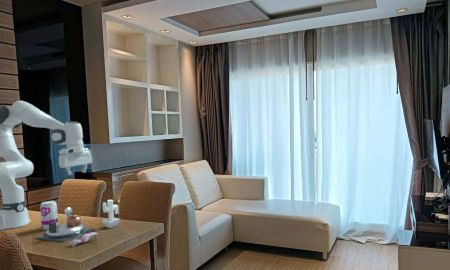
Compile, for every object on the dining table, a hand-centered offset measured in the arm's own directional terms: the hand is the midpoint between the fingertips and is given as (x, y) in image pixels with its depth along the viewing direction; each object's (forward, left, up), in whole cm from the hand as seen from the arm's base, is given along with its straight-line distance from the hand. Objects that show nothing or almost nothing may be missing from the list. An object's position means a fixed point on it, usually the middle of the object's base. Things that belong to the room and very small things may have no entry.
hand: (77, 173), depth 189 cm
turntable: (+3, -13, -29) cm, 32 cm away
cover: (+3, -7, -27) cm, 28 cm away
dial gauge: (-4, -5, -30) cm, 30 cm away
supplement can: (-16, -8, -31) cm, 35 cm away
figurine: (+18, +5, -31) cm, 36 cm away
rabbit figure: (+24, -20, -31) cm, 44 cm away
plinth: (+3, -13, -31) cm, 33 cm away
